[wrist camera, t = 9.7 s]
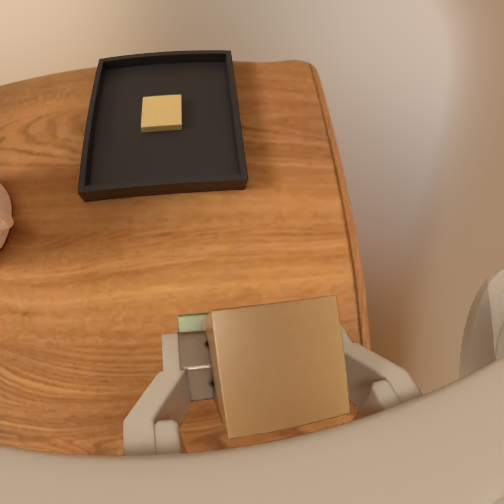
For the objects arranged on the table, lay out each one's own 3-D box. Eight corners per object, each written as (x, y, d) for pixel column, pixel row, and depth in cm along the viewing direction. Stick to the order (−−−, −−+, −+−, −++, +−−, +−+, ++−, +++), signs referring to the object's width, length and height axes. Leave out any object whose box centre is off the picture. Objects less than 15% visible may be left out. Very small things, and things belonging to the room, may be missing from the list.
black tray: (228, 62, 34) (230, 50, 32) (244, 189, 30) (248, 179, 28) (102, 70, 31) (99, 58, 29) (84, 201, 27) (77, 192, 25)
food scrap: (181, 100, 31) (181, 94, 30) (181, 130, 30) (181, 124, 29) (143, 102, 30) (142, 96, 29) (141, 133, 29) (140, 127, 28)
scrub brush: (277, 306, 16) (369, 277, 8) (286, 375, 16) (385, 413, 7) (178, 317, 15) (163, 300, 7) (188, 389, 15) (186, 456, 6)
